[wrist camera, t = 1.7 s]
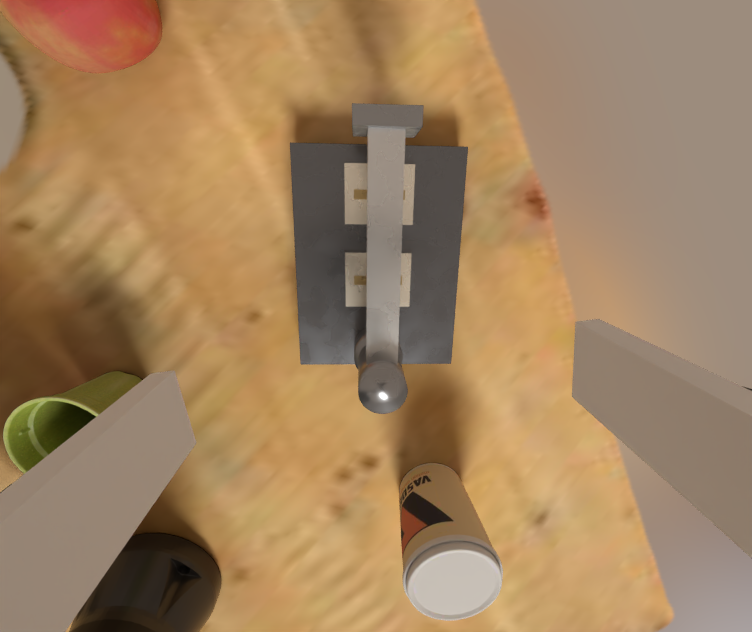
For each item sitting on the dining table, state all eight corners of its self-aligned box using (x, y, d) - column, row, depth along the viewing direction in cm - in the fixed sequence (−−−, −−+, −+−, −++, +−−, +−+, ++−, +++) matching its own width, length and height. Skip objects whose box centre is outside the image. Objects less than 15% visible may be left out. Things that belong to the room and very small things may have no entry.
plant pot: (187, 412, 40) (142, 465, 32) (116, 447, 41) (54, 507, 33) (133, 341, 38) (70, 379, 29) (59, 380, 38) (-24, 427, 30)
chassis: (304, 354, 39) (295, 379, 33) (296, 148, 33) (282, 135, 27) (444, 353, 40) (458, 378, 34) (458, 152, 34) (479, 140, 28)
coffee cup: (419, 444, 43) (442, 531, 31) (483, 477, 44) (526, 570, 33) (377, 500, 45) (384, 601, 33) (439, 530, 46) (466, 635, 35)
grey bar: (402, 377, 33) (411, 413, 27) (354, 377, 33) (353, 414, 27) (412, 123, 27) (427, 99, 21) (353, 121, 27) (351, 97, 21)
